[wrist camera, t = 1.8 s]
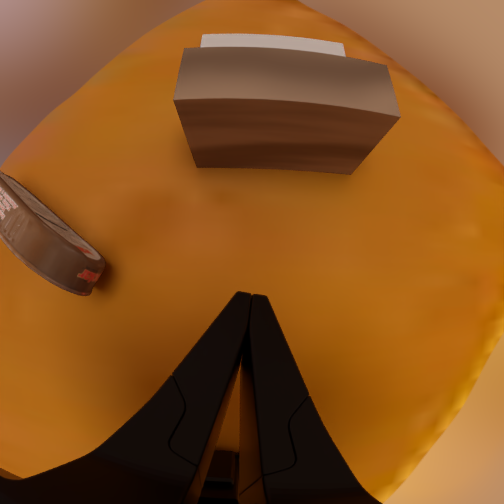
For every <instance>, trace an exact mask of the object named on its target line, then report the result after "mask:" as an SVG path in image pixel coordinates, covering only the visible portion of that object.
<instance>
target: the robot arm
mask: <svg viewBox="0 0 504 504" xmlns="http://www.w3.org/2000/svg"><path fill="white" fill-rule="evenodd" d="M251 297H252V298H251ZM241 358H242V359H241ZM240 362H241V370H240V440H239V453H235V452H232V451H217V450H215V447H216V443H217V440H218V437H219V434H220V431H221V427H222V424H223V421H224V418H225V414H226V411H227V408H228V404H229V401H230V398H231V394H232V391H233V388H234V384H235V381H236V378H237V374H238V371H239V367H240ZM0 504H382V503H381V502H379V501H378V500H377V499H375V498H374V497H373V496H371V495H370V494H369V493H368V492H367V491H366V490H365V489H364V488H363V487H362V486H361V484H360V483H359V482H358V480H357V479H356V477H355V476H354V474H353V473H352V471H351V469H350V468H349V466H348V465H347V463H346V461H345V460H344V458H343V457H342V455H341V453H340V452H339V450H338V448H337V447H336V445H335V444H334V442H333V440H332V438H331V437H330V435H329V433H328V431H327V430H326V428H325V426H324V424H323V422H322V420H321V418H320V416H319V414H318V412H317V410H316V408H315V405H314V403H313V401H312V398H311V396H309V392H308V389H307V387H306V385H305V383H304V380H303V378H302V376H301V373H300V371H299V369H298V366H297V364H296V362H295V359H294V357H293V355H292V353H291V350H290V348H289V346H288V343H287V341H286V339H285V336H284V334H283V332H282V329H281V327H280V325H279V322H278V320H277V318H276V315H275V313H274V311H273V309H272V306H271V304H270V302H269V299H268V297H267V296H265V295H259V294H253V295H251V293H247V292H241V291H238V292H236V293H235V295H234V296H233V297H232V298H231V300H230V301H229V302H228V304H227V305H226V306H225V307H224V309H223V310H222V311H221V312H220V314H219V315H218V316H217V318H216V319H215V320H214V321H213V323H212V324H211V325H210V326H209V328H208V329H207V330H206V331H205V333H204V334H203V335H202V336H201V338H200V339H199V340H198V342H197V343H196V344H195V345H194V347H193V348H192V349H191V350H190V352H189V353H188V354H187V355H186V357H185V358H184V359H183V360H182V362H181V363H180V364H179V365H178V367H177V368H176V369H175V370H174V372H173V373H172V375H170V376H169V378H168V379H167V380H166V381H165V383H164V384H163V385H162V386H161V387H160V389H159V390H158V391H157V392H156V393H155V394H154V395H153V397H152V398H151V399H150V400H149V401H148V402H147V403H146V404H145V405H144V406H143V407H142V408H141V409H140V410H139V411H138V412H137V413H136V414H135V415H134V416H133V417H131V418H130V419H129V420H128V421H127V422H126V423H125V424H124V425H123V426H122V427H120V428H119V429H118V430H117V431H116V432H115V433H114V434H113V435H112V436H110V437H109V438H108V439H107V440H106V441H105V442H104V443H102V444H101V445H100V446H99V447H97V448H96V449H95V450H93V451H92V452H90V453H88V454H87V455H85V456H83V457H80V458H78V459H76V460H73V461H71V462H68V463H66V464H63V465H61V466H58V467H56V468H53V469H50V470H48V471H45V472H42V473H40V474H37V475H34V476H31V477H28V478H24V479H23V478H21V477H18V476H16V475H14V474H12V473H10V472H8V471H6V470H4V469H2V468H0Z"/></svg>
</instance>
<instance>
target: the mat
mask: <svg viewBox="0 0 504 504" xmlns="http://www.w3.org/2000/svg"><path fill="white" fill-rule="evenodd" d="M200 47H264V48H280V49H292V50H302V51H311V52H318V53H326V54H332V55H338V56H344V57H346V56H345V52H344V48H343V44H342V43H336V42H330V41H323V40H316V39H308V38H300V37H290V36H278V35H261V34H204V35H203V36H202V41H201V46H200Z"/></svg>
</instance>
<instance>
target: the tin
mask: <svg viewBox="0 0 504 504" xmlns="http://www.w3.org/2000/svg"><path fill="white" fill-rule="evenodd" d="M0 238H1V239H2V241H3V242H4V243H5V244H6V246H7V247H8V248H9V249H10V250H11V251H12V252H13V254H14V255H15V256H16V257H18V258H19V259H20V260H21V261H22V262H23V263H24V264H25V265H27V266H28V267H29V268H30V269H32V270H33V271H34V272H36V273H37V274H38V275H40V276H41V277H43V278H44V279H46V280H47V281H49V282H51V283H52V284H54V285H56V286H58V287H60V288H62V289H64V290H66V291H69V292H71V293H74V294H77V295H81V296H88V295H90V294H91V292H92V288H93V286H94V285H95V283H96V282H97V280H98V278H99V277H100V275H101V274H102V272H103V270H104V268H105V264H106V263H105V260H104V258H103V257H102V256H101V255H100V254H99V253H98V252H97V251H96V250H95V249H94V248H93V247H92V246H91V245H90V244H88V243H87V242H86V241H85V240H84V239H83V238H81V237H80V236H79V235H78V234H77V233H76V232H75V231H73V230H72V229H71V228H70V227H69V226H68V225H67V224H66V223H65V222H64V221H62V220H61V219H60V218H59V217H58V216H57V215H56V214H55V213H54V212H52V211H51V210H50V209H49V208H48V207H47V206H46V205H44V204H43V203H42V202H41V201H40V200H39V199H38V198H37V197H35V196H34V195H33V194H32V193H31V192H30V191H28V190H27V189H26V188H25V187H24V186H22V185H21V184H20V183H19V182H17V181H16V180H15V179H13V178H12V177H10V176H8V175H5V174H4V173H2V172H1V171H0Z"/></svg>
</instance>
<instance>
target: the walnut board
mask: <svg viewBox="0 0 504 504" xmlns="http://www.w3.org/2000/svg"><path fill="white" fill-rule="evenodd" d="M173 100H174V103H175V106H176V109H177V112H178V115H179V118H180V121H181V124H182V127H183V129H184V132H185V135H186V138H187V141H188V144H189V147H190V150H191V152H192V155H193V158H194V161H195V164H196V166H197V168H259V169H282V170H299V171H314V172H327V173H339V174H349V175H351V174H352V173H353V171H354V170H355V169H356V168H357V167H358V166H359V165H360V163H361V162H362V161H363V160H364V159H365V158H366V157H367V155H368V154H369V153H370V152H371V151H372V150H373V149H374V147H375V146H376V145H377V144H378V143H379V142H380V140H381V139H382V138H383V137H384V136H385V135H386V134H387V132H388V131H389V130H390V129H391V128H392V127H393V125H394V124H395V123H396V122H397V121H398V120H399V118H400V117H401V116H400V112H399V108H398V104H397V100H396V96H395V92H394V89H393V85H392V82H391V78H390V75H389V71H388V68H387V65H383V64H378V63H374V62H370V61H365V60H360V59H355V58H350V57H344V56H338V55H332V54H326V53H318V52H311V51H302V50H292V49H280V48H264V47H198V48H184V52H183V56H182V60H181V65H180V69H179V74H178V79H177V84H176V89H175V94H174V99H173Z"/></svg>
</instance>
